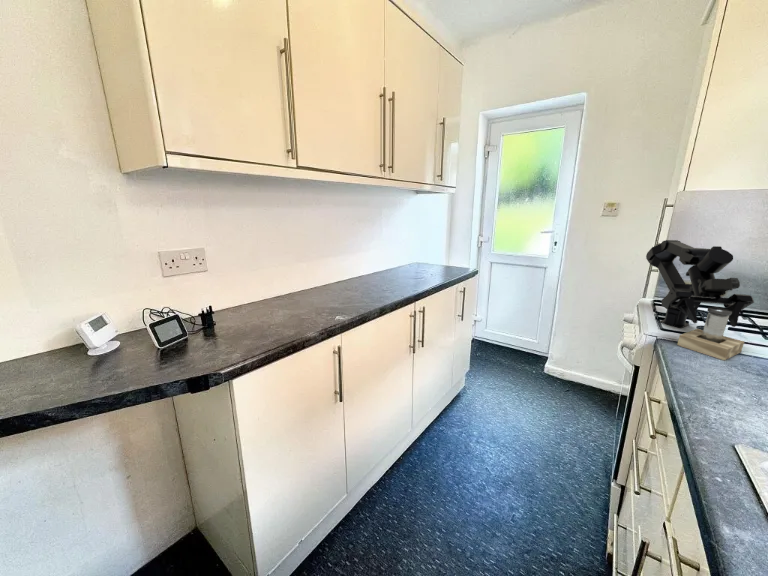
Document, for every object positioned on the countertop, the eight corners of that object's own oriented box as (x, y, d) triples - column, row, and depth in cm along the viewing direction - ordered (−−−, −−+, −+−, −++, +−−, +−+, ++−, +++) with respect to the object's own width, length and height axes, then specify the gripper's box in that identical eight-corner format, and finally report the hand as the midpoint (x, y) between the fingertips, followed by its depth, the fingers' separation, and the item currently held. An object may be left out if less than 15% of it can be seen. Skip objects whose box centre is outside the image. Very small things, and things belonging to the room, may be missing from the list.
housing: (694, 338, 105) (697, 328, 104) (741, 352, 95) (744, 341, 94) (677, 345, 100) (679, 335, 99) (724, 360, 90) (727, 349, 90)
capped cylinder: (701, 343, 101) (712, 305, 97) (723, 350, 96) (735, 310, 93) (693, 347, 99) (704, 308, 95) (715, 353, 94) (727, 313, 91)
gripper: (680, 265, 99) (691, 309, 92) (759, 269, 93) (777, 316, 86) (663, 283, 108) (671, 325, 101) (733, 287, 102) (747, 332, 95)
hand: (714, 324), depth 96 cm, fingers open, 9 cm apart
